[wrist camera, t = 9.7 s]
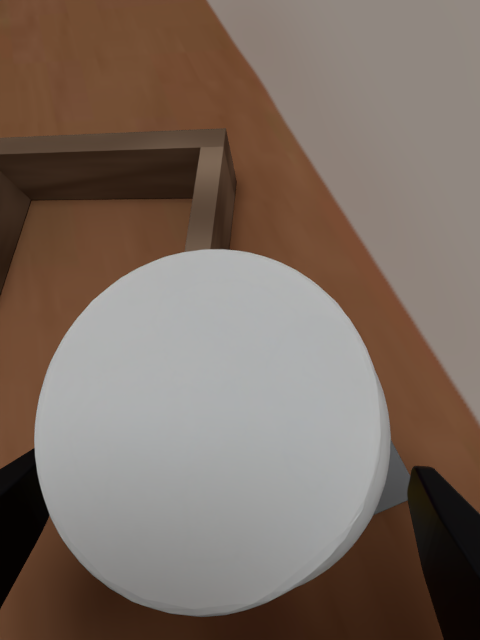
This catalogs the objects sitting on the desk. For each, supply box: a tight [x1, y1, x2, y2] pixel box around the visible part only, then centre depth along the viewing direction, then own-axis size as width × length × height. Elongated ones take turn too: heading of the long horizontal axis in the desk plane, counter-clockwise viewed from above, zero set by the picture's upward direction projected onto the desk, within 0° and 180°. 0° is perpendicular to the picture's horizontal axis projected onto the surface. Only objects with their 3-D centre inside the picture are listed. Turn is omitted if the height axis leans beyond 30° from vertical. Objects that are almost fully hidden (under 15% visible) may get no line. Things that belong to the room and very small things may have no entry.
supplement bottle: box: [34, 249, 391, 617], centre depth 11 cm, size 7×7×13 cm
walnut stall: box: [0, 128, 237, 293], centre depth 20 cm, size 9×15×4 cm, turn 85°
